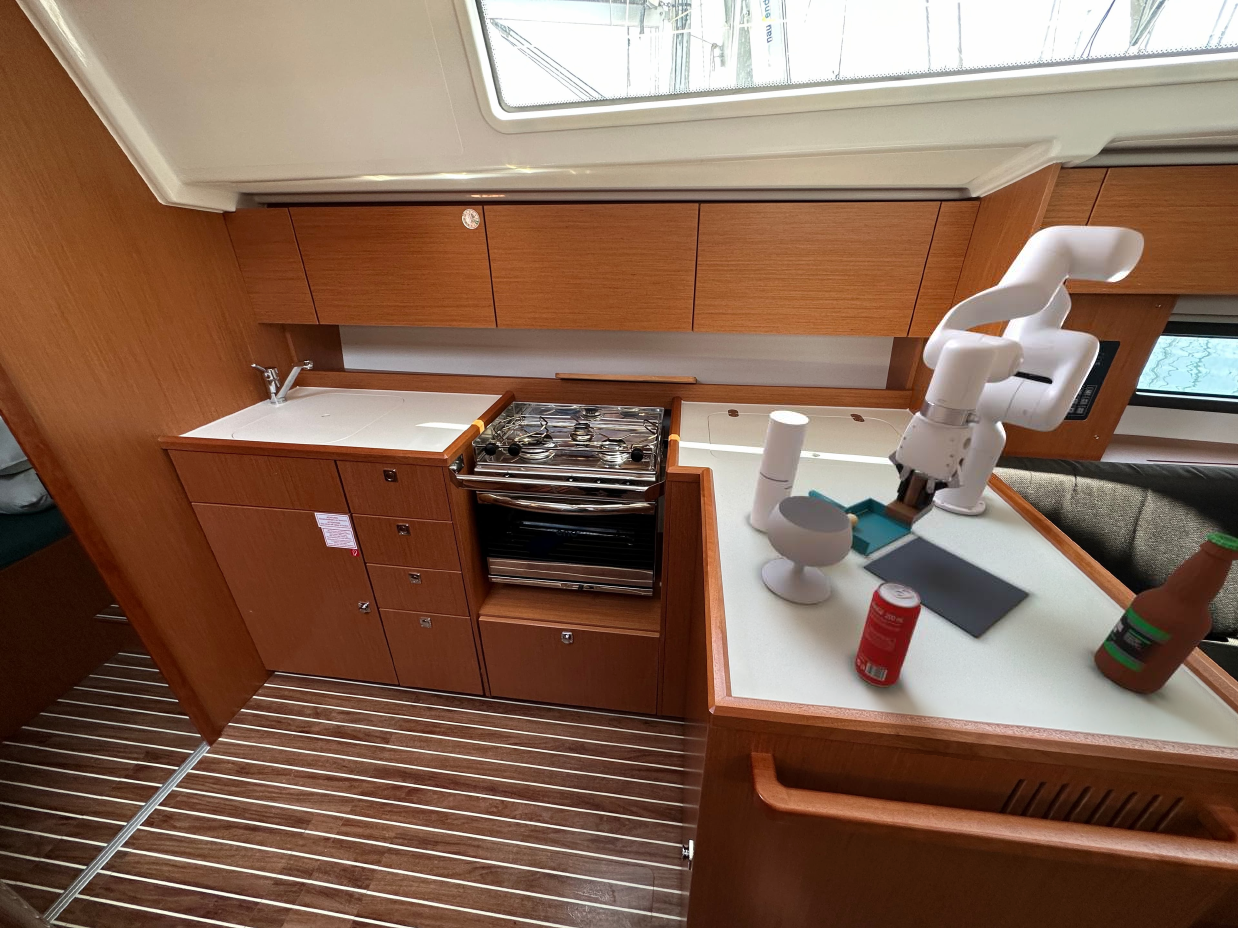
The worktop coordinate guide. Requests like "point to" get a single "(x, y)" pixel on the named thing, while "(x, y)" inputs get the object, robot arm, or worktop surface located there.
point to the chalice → (805, 547)
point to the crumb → (853, 520)
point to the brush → (910, 502)
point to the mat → (949, 584)
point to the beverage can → (887, 633)
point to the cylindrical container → (778, 464)
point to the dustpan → (869, 524)
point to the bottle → (1167, 620)
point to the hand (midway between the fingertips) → (911, 501)
